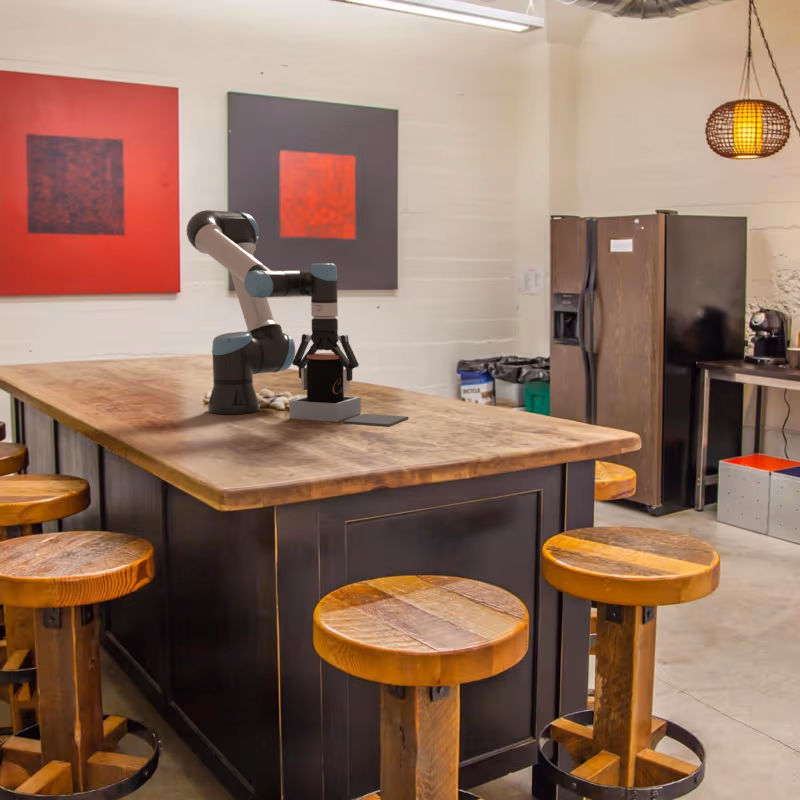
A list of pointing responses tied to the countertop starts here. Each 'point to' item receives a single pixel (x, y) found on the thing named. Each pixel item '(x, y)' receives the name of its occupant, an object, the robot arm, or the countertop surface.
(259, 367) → the robot arm
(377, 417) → the pad
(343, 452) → the countertop surface
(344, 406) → the pocket frame
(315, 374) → the coffee jar
